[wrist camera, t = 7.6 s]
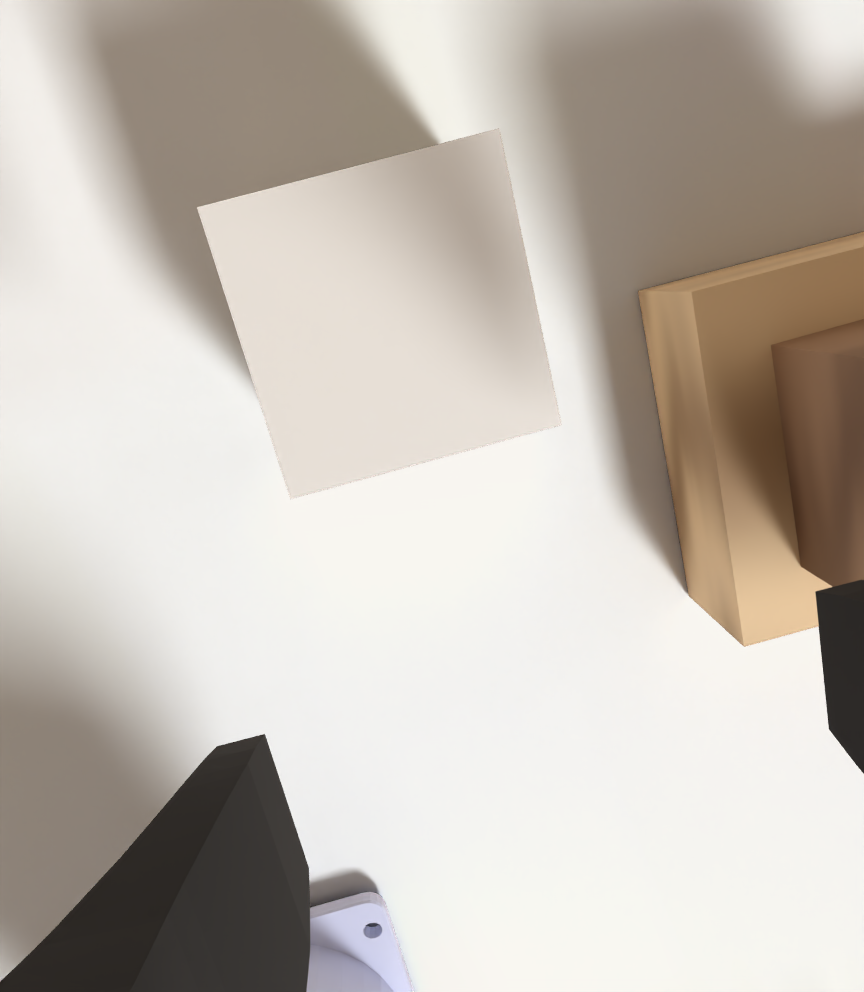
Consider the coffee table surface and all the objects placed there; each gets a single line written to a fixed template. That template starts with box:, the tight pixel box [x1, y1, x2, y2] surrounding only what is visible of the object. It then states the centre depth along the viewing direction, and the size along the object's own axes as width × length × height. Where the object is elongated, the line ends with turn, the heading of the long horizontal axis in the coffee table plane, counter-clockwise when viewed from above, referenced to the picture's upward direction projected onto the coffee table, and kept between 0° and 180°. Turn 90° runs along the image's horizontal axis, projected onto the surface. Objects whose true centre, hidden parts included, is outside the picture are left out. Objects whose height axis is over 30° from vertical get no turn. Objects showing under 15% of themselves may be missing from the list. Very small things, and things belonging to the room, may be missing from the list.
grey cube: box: [197, 129, 562, 499], centre depth 16 cm, size 5×5×5 cm
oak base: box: [638, 232, 864, 647], centre depth 18 cm, size 8×8×3 cm
